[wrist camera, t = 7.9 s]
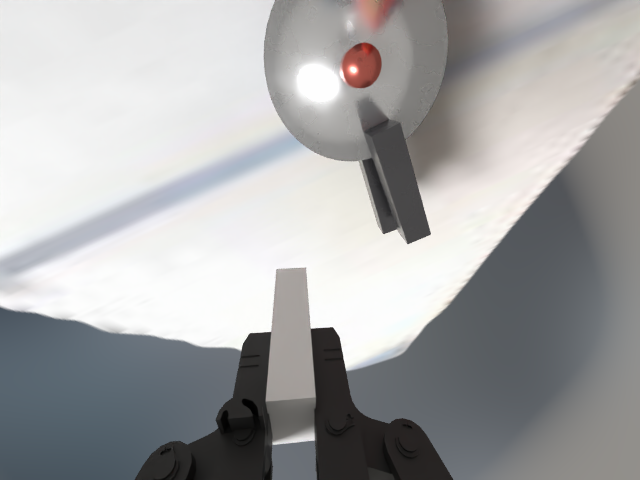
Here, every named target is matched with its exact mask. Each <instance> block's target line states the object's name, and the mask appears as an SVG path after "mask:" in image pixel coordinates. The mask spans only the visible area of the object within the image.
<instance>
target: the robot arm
mask: <svg viewBox="0 0 640 480" xmlns="http://www.w3.org/2000/svg"><path fill="white" fill-rule="evenodd" d="M216 422H217V425H218V429H217V430H215V431H214V432H213V433H211V434H209V435H208V436H205V437H203V438H201V439H199V440H197V441H194V442H192V443H190V444H188V445H187V444H185V443H183V442H181V441H173V442H169V443H167V444H165V445H162V446H161V447H160V448H158V449H157V450H156V451H154V452H153V453H152V454H151V455H150V457H149V458H148V459H147V461H146V462H145V463H144V465H143V466H142V468H141V470H140V471H139V473H138V475H137V477H136V479H135V480H272V468H273V466H272V442H273V445H274V444H284V443H293V442H303V441H313V440H315V449H316V472H317V480H453V478H452V477H451V475H450V473H449V472H448V470H447V468H446V467H445V465H444V463H443V462H442V460H441V458H440V457H439V455H438V453H437V452H436V450H435V448H434V447H433V445H432V443H431V442H430V440H429V438H428V437H427V435H426V434H425V433H424V431H423V430H422V429H421V428H420V427H419V426H418V425H417V424H415V423H414V422H412V421H410V420H407V419H403V418H402V419H395V420H394V421H392V422H391V423H390V424H388V423H385V422H381V421H378V420H374V419H371V418H368V417H366V416H365V415H363V414H362V413H360V412H359V411H358V409H357V408H356V407H355V405H354V403H353V402H352V399H351V396H350V390H349V385H348V380H347V374H346V369H345V364H344V360H343V353H342V348H341V343H340V337H339V336H338V334H337V333H336V331H335V330H334V328H333V327H330V328H315V329H310V315H309V302H308V289H307V276H306V268H291V269H277V270H276V282H275V294H274V306H273V318H272V330H271V332H264V333H250V334H249V335H248V337H247V339H246V340H245V342H244V343H243V346H242V351H241V358H240V362H239V369H238V373H237V378H236V383H235V389H234V394H233V398H232V399H231V400H229V401H228V402H226V403H225V404H224V405H223V407H222V408H221V409H220V411H219V413H218V415H217V418H216Z"/></svg>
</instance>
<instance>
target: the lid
mask: <svg viewBox="0 0 640 480" xmlns="http://www.w3.org/2000/svg"><path fill="white" fill-rule="evenodd" d="M447 53H448V30H447V20H446V16H445V11H444V7H443V3H442V0H275V2H274V5H273V7H272V10H271V13H270V17H269V20H268V24H267V29H266V35H265V41H264V67H265V76H266V81H267V87H268V90H269V93H270V97H271V100H272V102H273V104H274V107H275V109H276V111H277V113H278V115H279V117H280V118H281V120H282V122H283V123H284V125H285V126H286V127H287V129H288V130H289V131H290V133H291V134H292V135H293V136H294V137H295V138H296V139H297V140H298V141H299V142H301V143H302V144H303V145H304V146H306V147H307V148H309V149H310V150H312V151H314V152H315V153H317V154H320V155H322V156H324V157H327V158H331V159H334V160H341V161H360V160H366V159H370V158H372V159H373V161H374V164H375V167H376V170H377V173H378V176H379V179H380V181H381V184H382V187H383V190H384V193H385V196H386V199H387V202H388V204H389V207H390V210H391V213H392V216H393V219H394V222H395V224H396V227H397V230H398V232H399V233H400V235H401V236H402V237H403V239H404V240H405V241H406V243H407V244H410V243H412V242H414V241H417V240H419V239H421V238H424V237H426V236H428V235H431V233H430V229H429V225H428V222H427V218H426V214H425V211H424V207H423V203H422V200H421V196H420V193H419V189H418V185H417V182H416V178H415V174H414V171H413V167H412V163H411V160H410V156H409V152H408V149H407V145H406V141H405V139H406V138H408V137H409V136H410V135H411V134H412V133H413V132H414V131H415V130H416V128H417V127H418V126H419V125H420V124H421V122H422V121H423V120H424V118H425V117H426V115H427V114H428V112H429V110H430V109H431V107H432V105H433V103H434V101H435V99H436V96H437V94H438V92H439V89H440V86H441V83H442V80H443V77H444V72H445V67H446V62H447Z"/></svg>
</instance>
